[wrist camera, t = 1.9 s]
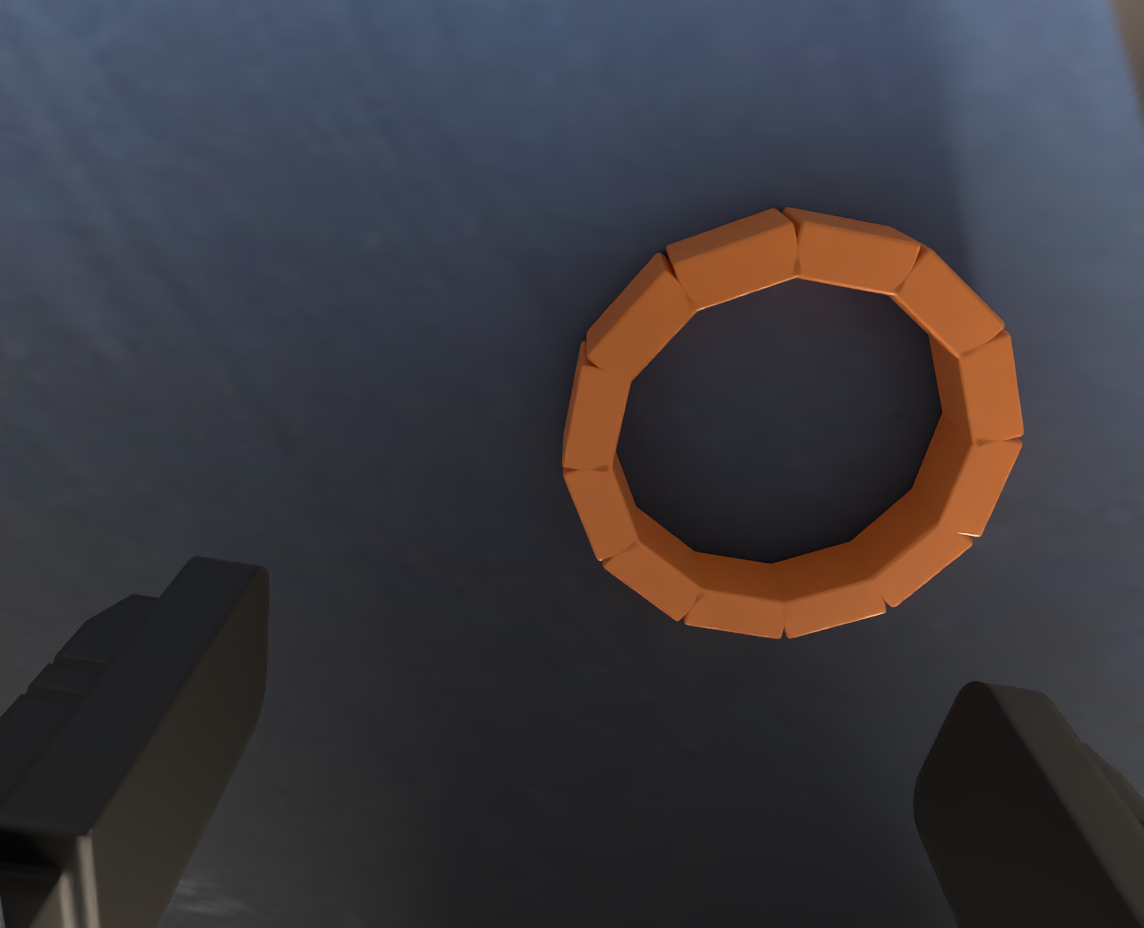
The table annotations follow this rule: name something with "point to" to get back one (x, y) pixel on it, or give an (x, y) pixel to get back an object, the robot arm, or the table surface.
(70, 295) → the table surface
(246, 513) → the table surface
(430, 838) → the table surface
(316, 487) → the table surface
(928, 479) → the ring
